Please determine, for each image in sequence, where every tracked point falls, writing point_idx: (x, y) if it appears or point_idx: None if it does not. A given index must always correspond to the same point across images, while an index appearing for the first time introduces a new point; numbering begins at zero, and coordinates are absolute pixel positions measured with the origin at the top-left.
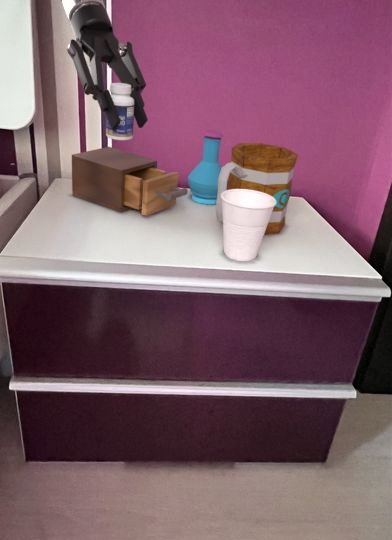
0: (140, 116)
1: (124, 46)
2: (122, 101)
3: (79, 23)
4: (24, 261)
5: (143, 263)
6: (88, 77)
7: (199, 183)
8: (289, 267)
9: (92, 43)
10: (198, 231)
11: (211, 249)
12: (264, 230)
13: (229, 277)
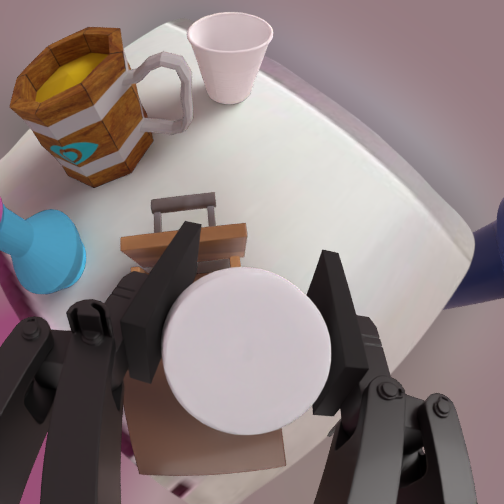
0: (193, 254)
1: None
2: (289, 281)
3: None
4: (461, 238)
5: (355, 145)
6: (453, 448)
7: (76, 239)
8: None
9: None
10: (203, 163)
11: (245, 117)
12: (224, 44)
13: (290, 74)
